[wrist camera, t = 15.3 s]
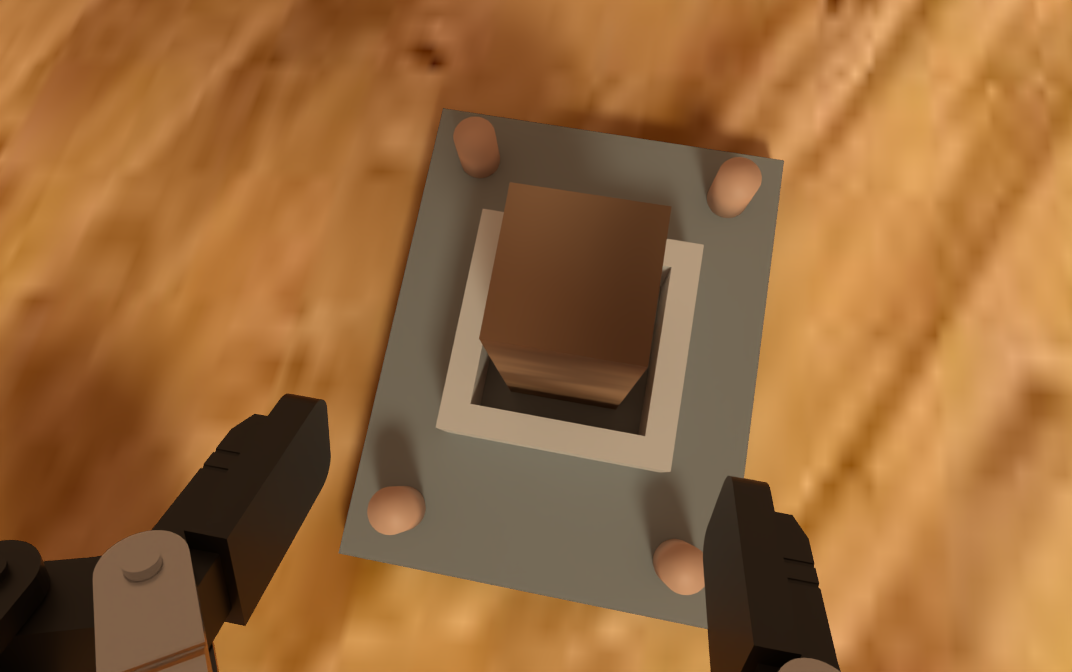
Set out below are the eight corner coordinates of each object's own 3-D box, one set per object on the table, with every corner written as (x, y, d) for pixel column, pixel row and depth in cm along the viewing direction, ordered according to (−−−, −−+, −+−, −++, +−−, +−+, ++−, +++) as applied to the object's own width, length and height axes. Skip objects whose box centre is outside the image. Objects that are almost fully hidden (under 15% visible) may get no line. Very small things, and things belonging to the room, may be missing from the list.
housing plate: (348, 549, 26) (314, 561, 23) (447, 122, 30) (431, 73, 26) (716, 625, 25) (742, 650, 22) (774, 173, 29) (805, 129, 25)
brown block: (510, 391, 26) (479, 338, 16) (529, 290, 27) (509, 182, 17) (615, 409, 26) (647, 367, 16) (631, 307, 26) (671, 206, 17)
